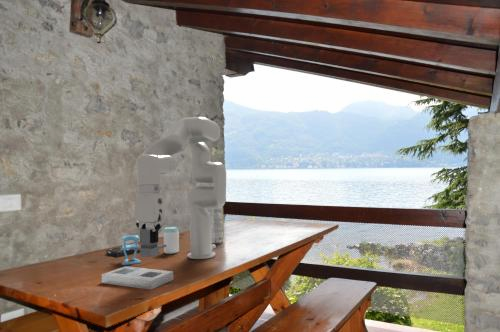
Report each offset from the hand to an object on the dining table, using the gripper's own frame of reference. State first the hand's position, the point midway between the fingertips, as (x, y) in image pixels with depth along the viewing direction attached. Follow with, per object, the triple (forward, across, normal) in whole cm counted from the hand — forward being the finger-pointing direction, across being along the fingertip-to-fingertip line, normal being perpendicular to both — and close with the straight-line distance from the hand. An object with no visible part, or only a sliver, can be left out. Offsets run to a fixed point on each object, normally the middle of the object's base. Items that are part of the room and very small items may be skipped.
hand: (149, 241), depth 135 cm
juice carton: (+13, +16, -73) cm, 76 cm away
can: (+14, +23, -44) cm, 51 cm away
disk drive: (+14, +45, -37) cm, 60 cm away
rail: (+14, +6, -1) cm, 16 cm away
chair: (+14, +29, -23) cm, 40 cm away
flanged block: (+5, 0, 0) cm, 5 cm away
